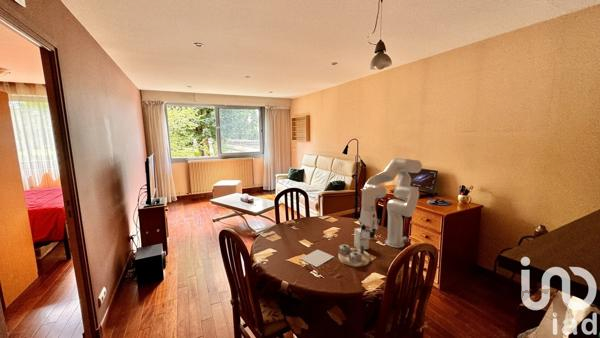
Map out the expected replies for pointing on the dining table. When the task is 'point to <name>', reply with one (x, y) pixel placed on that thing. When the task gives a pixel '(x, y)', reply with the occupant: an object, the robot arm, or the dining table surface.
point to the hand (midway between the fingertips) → (367, 235)
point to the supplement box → (360, 239)
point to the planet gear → (366, 233)
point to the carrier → (353, 256)
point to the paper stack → (317, 258)
